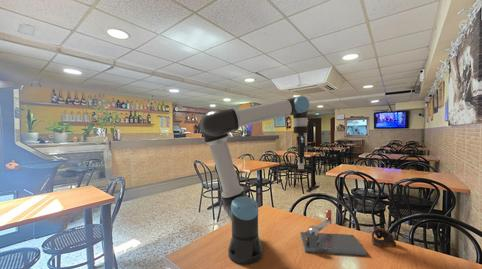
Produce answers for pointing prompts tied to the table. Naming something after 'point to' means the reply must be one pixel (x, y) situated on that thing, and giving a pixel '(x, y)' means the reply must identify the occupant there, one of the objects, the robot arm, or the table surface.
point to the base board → (333, 244)
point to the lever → (319, 226)
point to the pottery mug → (379, 234)
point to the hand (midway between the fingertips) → (301, 168)
